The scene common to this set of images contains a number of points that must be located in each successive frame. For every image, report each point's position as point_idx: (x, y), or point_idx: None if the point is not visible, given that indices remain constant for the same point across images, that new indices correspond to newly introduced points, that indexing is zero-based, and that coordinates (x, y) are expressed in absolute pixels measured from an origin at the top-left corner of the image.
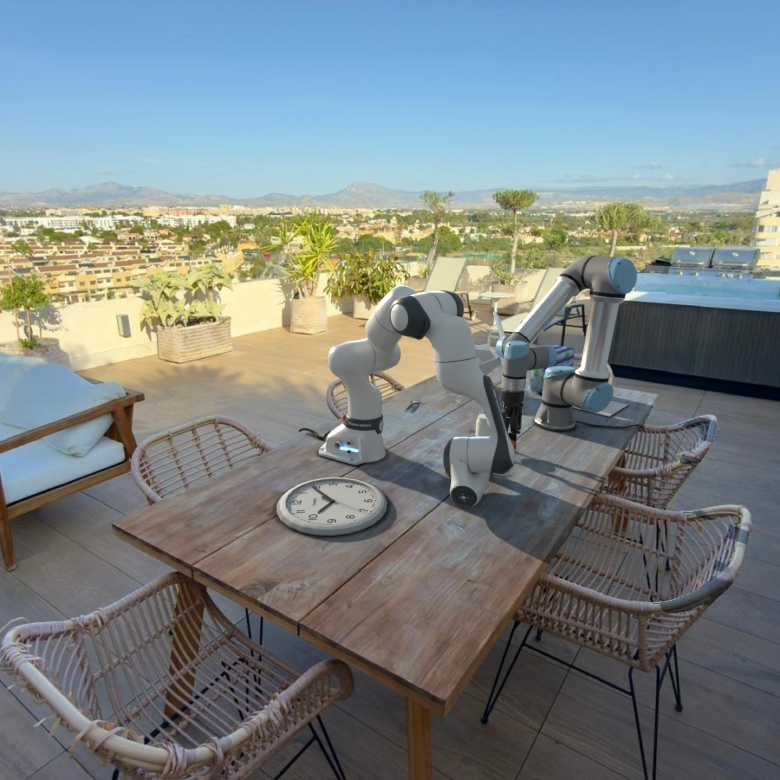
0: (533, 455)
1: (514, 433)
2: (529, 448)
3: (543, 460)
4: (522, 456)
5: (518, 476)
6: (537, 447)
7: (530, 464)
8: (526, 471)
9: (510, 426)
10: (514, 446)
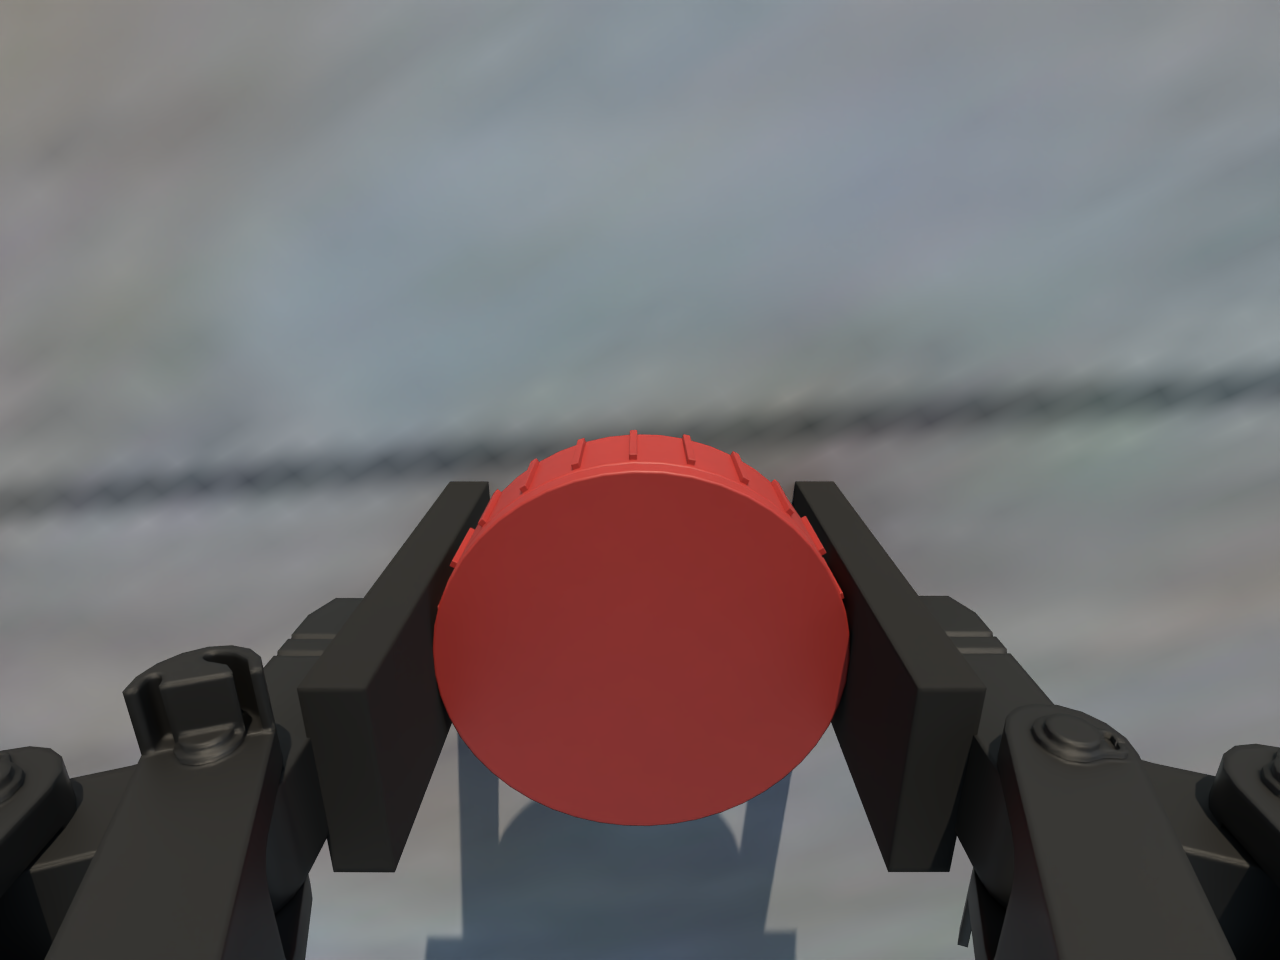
0: (866, 825)
1: (962, 816)
2: (1092, 697)
3: (790, 952)
4: None
5: None
6: (1196, 761)
7: (564, 897)
8: (348, 934)
9: (1036, 912)
10: (608, 804)
